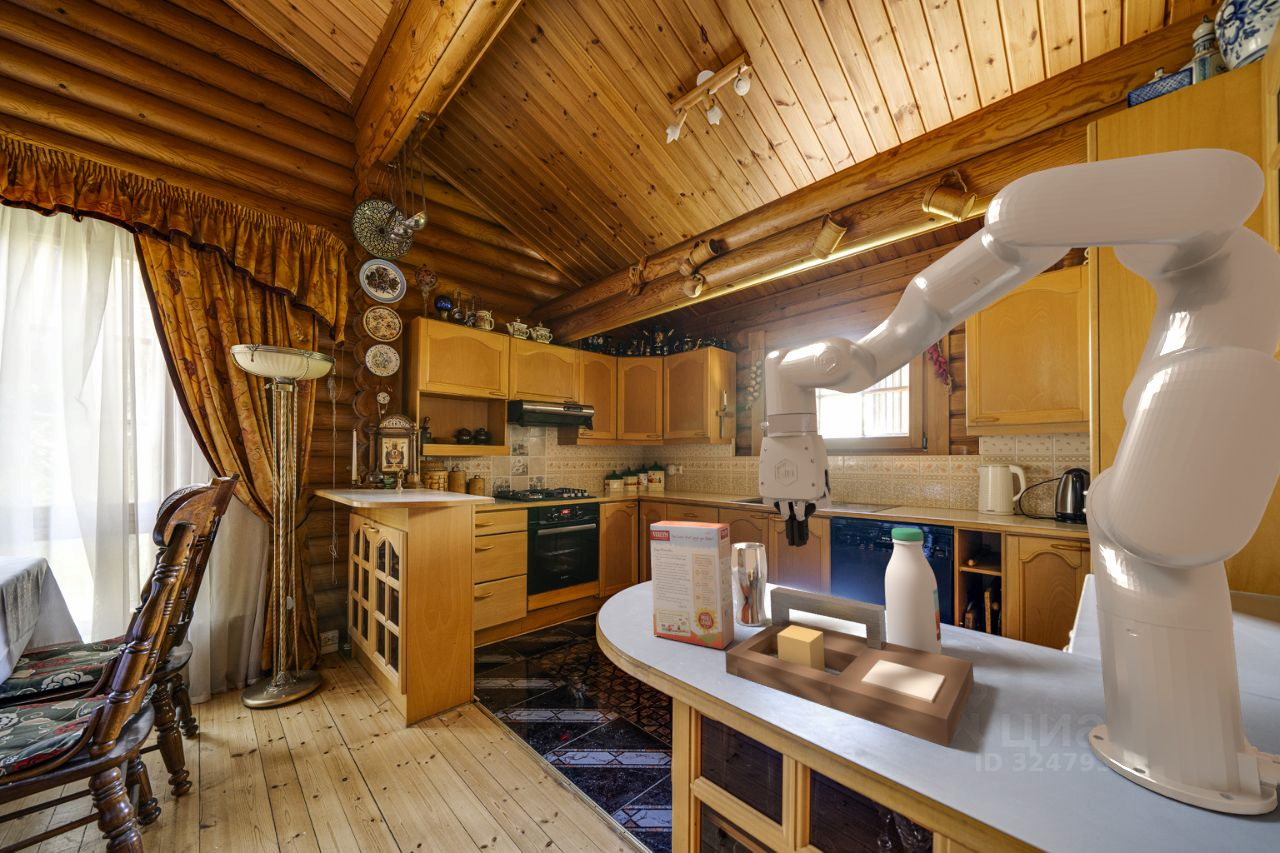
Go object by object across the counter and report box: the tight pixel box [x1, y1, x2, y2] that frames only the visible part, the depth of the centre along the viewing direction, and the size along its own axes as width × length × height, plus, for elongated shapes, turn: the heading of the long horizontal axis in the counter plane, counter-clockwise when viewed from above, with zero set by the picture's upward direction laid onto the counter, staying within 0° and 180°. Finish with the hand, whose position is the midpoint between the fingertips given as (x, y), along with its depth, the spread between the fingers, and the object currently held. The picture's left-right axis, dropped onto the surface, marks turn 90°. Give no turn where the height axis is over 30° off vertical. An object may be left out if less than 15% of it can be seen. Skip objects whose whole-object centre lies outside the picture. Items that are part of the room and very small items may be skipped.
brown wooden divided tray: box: [725, 620, 975, 748], centre depth 70 cm, size 29×19×3 cm, turn 48°
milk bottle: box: [884, 527, 942, 655], centre depth 79 cm, size 8×8×20 cm
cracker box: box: [650, 520, 735, 650], centre depth 87 cm, size 14×6×21 cm, turn 58°
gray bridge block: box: [769, 586, 888, 650], centre depth 79 cm, size 18×3×6 cm, turn 48°
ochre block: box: [777, 625, 826, 672], centre depth 72 cm, size 5×5×6 cm
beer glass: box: [731, 541, 768, 627], centre depth 94 cm, size 7×7×15 cm
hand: (797, 544), depth 73 cm, fingers closed
